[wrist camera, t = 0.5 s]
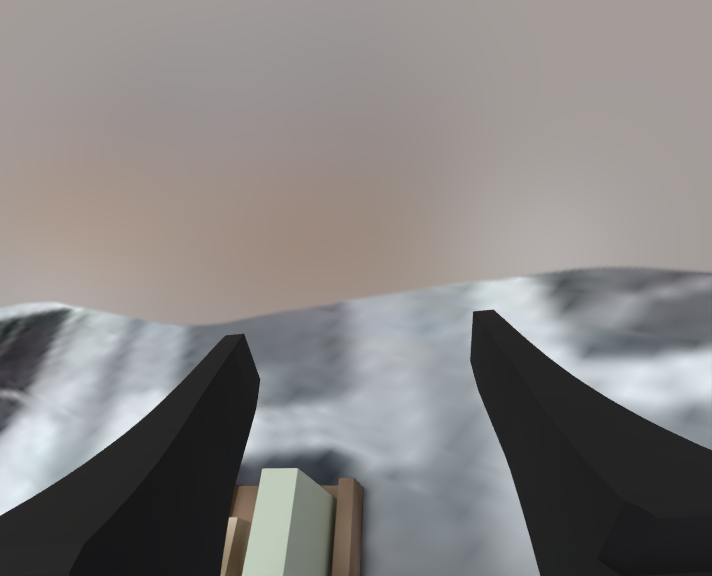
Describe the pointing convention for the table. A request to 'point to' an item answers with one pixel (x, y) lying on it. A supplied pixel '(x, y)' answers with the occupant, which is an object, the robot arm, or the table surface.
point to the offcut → (235, 546)
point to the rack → (345, 527)
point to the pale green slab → (291, 527)
